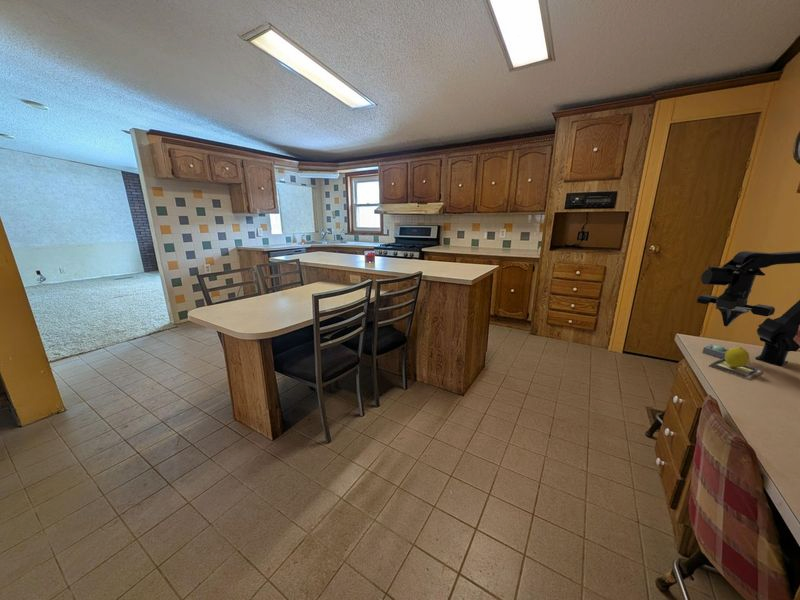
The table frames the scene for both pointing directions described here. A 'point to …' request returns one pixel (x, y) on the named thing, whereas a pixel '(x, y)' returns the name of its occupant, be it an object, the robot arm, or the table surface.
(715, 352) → the button housing
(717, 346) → the button
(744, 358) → the lemon
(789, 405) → the table surface
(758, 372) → the grey tray
